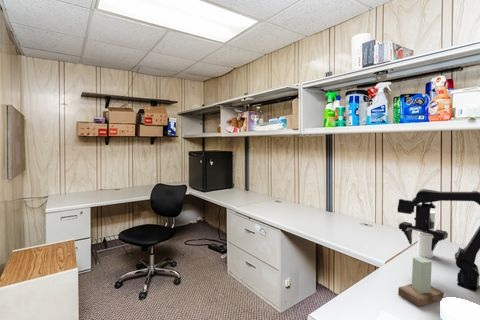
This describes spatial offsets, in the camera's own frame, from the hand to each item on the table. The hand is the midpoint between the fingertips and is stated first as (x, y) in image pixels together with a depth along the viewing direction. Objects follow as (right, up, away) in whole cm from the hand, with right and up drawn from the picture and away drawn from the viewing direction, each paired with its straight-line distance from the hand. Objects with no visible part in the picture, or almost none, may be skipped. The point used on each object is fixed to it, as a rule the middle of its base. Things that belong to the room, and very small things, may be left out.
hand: (421, 247), depth 126 cm
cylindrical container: (+17, -11, +21) cm, 29 cm away
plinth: (-13, -15, -17) cm, 26 cm away
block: (-13, -12, -18) cm, 25 cm away
